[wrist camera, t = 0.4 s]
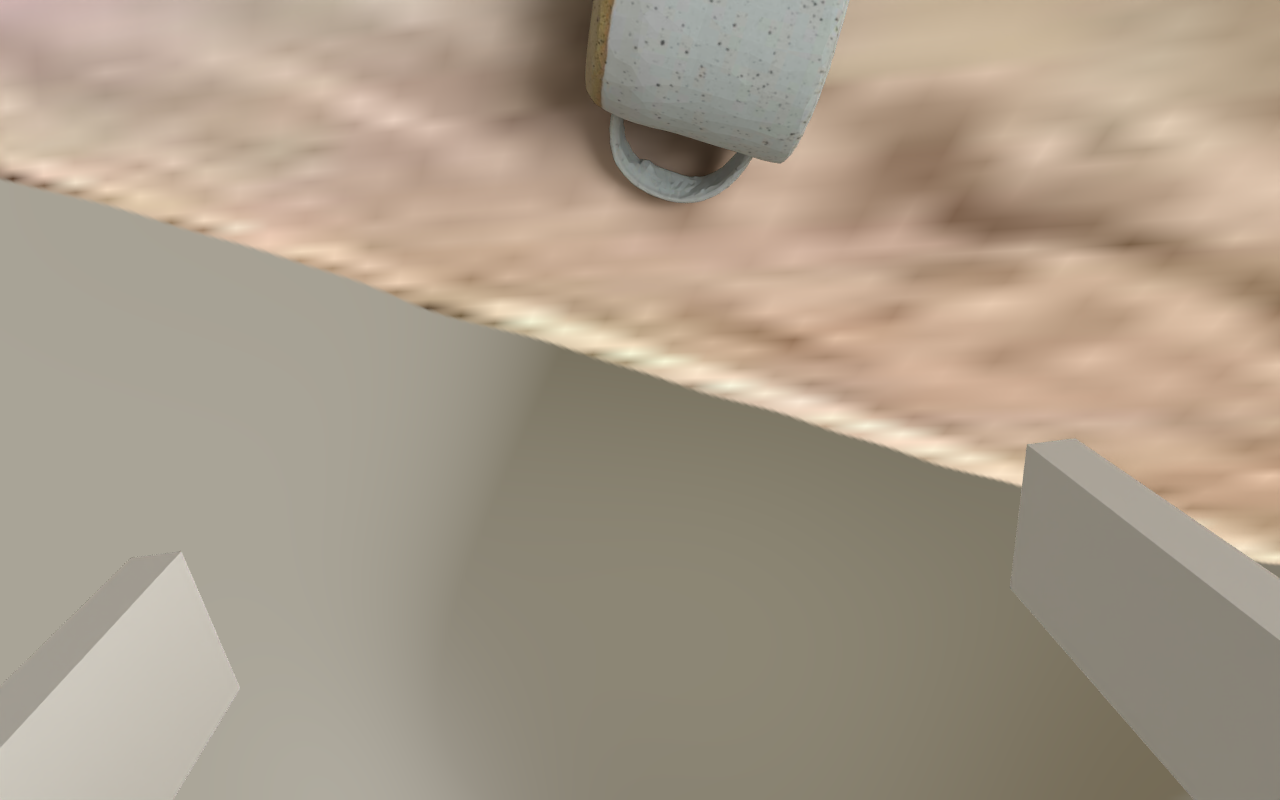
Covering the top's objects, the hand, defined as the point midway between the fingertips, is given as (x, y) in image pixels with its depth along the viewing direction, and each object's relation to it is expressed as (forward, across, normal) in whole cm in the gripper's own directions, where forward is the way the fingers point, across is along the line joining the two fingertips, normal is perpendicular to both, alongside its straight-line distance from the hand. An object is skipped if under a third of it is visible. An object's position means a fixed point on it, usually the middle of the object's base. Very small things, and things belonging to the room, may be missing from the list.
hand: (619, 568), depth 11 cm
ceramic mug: (+23, +5, +8) cm, 25 cm away
